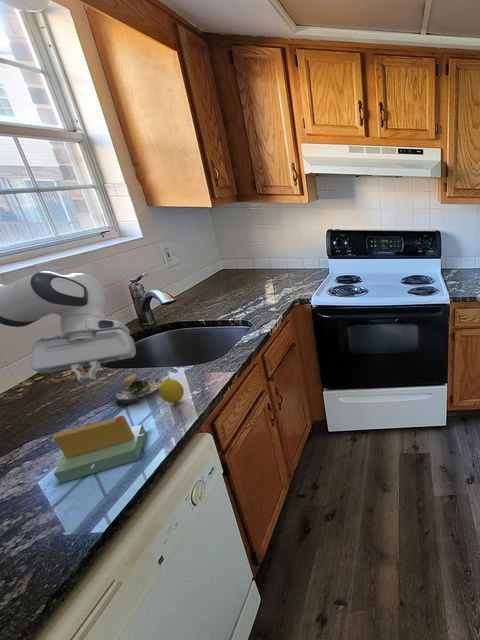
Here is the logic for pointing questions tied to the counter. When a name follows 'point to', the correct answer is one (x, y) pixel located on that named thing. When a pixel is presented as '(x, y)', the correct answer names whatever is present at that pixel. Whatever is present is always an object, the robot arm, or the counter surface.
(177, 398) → the lemon
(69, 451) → the mustard yellow rectangular block
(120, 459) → the panel
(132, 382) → the plate of food
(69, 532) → the counter surface
